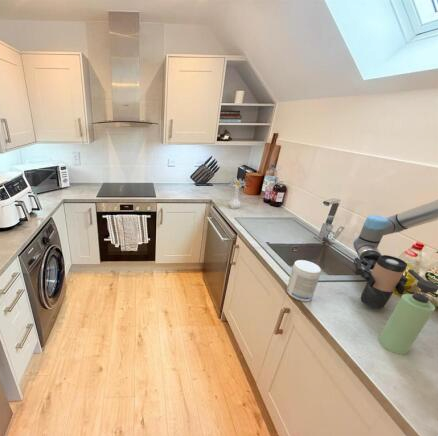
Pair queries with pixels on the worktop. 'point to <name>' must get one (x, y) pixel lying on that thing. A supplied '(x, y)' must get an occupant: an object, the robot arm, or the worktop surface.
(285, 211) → the worktop surface
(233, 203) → the flower vase
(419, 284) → the pump head
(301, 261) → the supplement tub
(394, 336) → the soap bottle
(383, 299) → the travel mug
